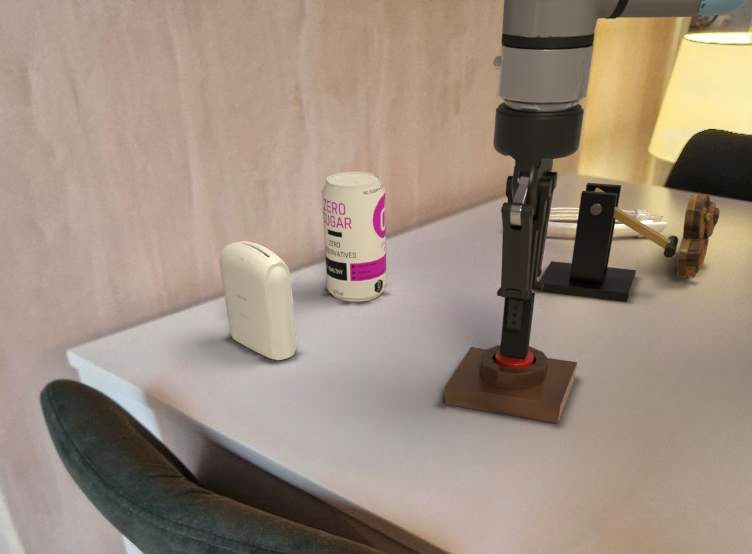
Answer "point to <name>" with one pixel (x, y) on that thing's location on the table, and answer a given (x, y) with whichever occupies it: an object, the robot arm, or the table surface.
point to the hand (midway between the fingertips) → (513, 353)
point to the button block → (512, 385)
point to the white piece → (619, 229)
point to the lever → (647, 231)
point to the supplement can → (355, 235)
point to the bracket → (592, 251)
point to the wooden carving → (696, 233)
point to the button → (514, 361)
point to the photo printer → (259, 299)
